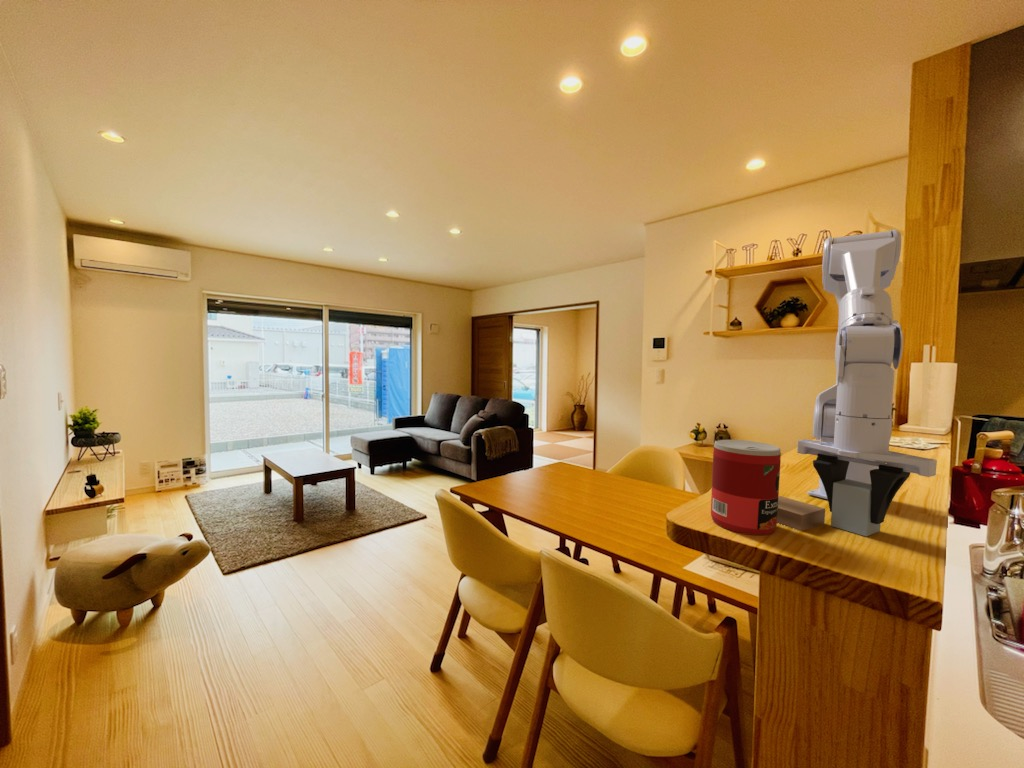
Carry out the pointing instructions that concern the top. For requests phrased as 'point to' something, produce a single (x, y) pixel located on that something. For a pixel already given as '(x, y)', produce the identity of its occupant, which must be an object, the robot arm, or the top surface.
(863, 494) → the grey block
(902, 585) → the top surface
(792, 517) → the walnut block
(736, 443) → the canned food
